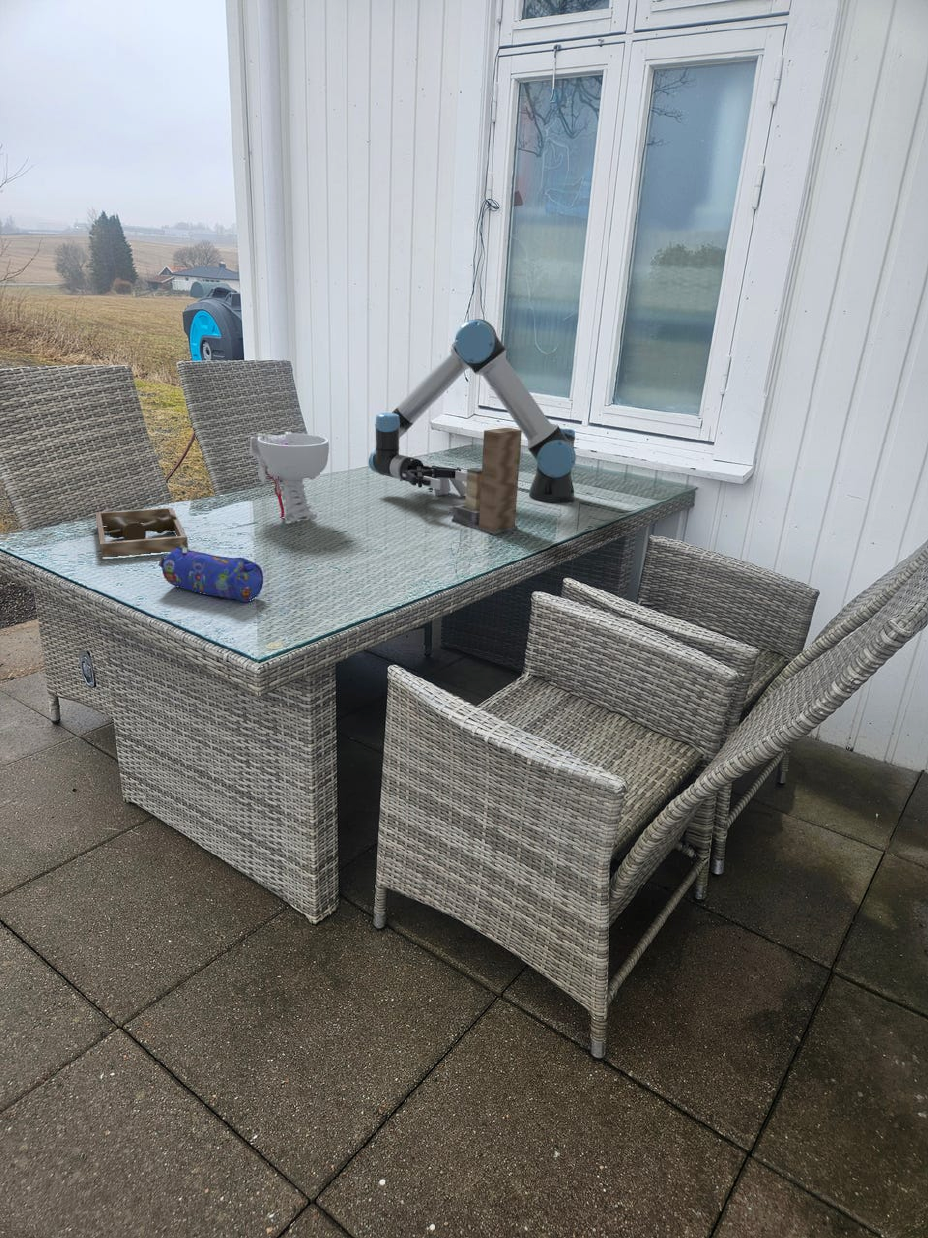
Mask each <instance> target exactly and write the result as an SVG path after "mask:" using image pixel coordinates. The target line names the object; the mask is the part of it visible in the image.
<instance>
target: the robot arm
mask: <svg viewBox="0 0 928 1238" xmlns="http://www.w3.org/2000/svg"><path fill="white" fill-rule="evenodd" d="M506 355H507V349H506V348H505V346H504V344H503V343H502V342H501V341H500V339H499V337H498V336H497V332H496V329H495V328H494V326H493V325H492V324H491V323H490V322H489V321H487V320H485V319H479V318H478V319H477V318H476V319H470V320H467V321H466V322H464V323H462V325H461V326H460V327H459V328H458V330H457V332H456V334H455V338H454V342H452V344H451V345H450V351H449V352H448V353H447V354H446V355H445V356H444V357H443V358H442V359H441V361H439V362H438V364H437V365H435V367H434V368H433V369H431V371H430V372H429V373H428V374H427V375H426V376H425V377H424V378H423V379H422V380H421V381H420V383H418V385H416V387H414V389H413V390H412V391H411V392H410V393H409V394H408V395H407V396H406V397H405V398H404V400H403V401H401V402H400V403H399V405H398V406H397V407H395V409H394V410H393V411H392V412H379V413H377V414H376V417H375V425H374V426H375V450H373V451H372V452H371V453H370V454H369V455H370V456H369V457H368V466H369V468H370V470H371V471H372V472H374V473H377V474H379V475H381V476H386V477H390V478H394V479H399V481H400V482H403V481H405V482H408V483H409V484H410V485H411V486H414V487H415V486H417V488H423V486H425V487H428V488H432V489H434V488H435V489H438V490H439V489H440V482H441V480H439V479H436V478H437V477H440V478H455V480H459V481H462V482H463V483H466V482H467V472H464V471H462V469H461V468H459V467H446V466H438V465H437V466H436V465H434V464H433V465H432V466H429V465H424V463H423V461H421V460H420V459H418V458H414V457H411V456H408V455H402V454H400V439H401V437H402V436H403V435H405V434H406V433H407V431H408V430H409V429H410V428H411V427H412V426H413V425H414V424H415V423H416V422H417V421H418V419H420V418H421V417H422V416H423V415H424V413H426V411H428V410H429V408H430V407H431V406H432V405H433V404H434V403H435V402H436V401H437V400H439V398H440V397H441V396H442V395H443V394H444V393H445V392H446V391H447V390H448V389H449V388H450V387H451V386H452V385H453V384H454V383H455V382H456V381H457V380H458V379H459V378H460V377H461V375H463V374H464V373H465V371H466V370H468V369H470V370H472V372H473V373H474V374H475V375H477V376H482V377H483V378H484V380H485V382H486V383H487V384H488V385H489V387H490V388H491V390H492V392H493V393H494V394H495V395H496V397H497V399H498V400H499V401H500V403H501V404H502V406H503V407H504V409H505V410H506V411H507V413H508V414H509V416H510V417H511V419H512V420H513V421H514V423H515V424H516V425H517V427H518V428H519V430H522V434H523V435H524V437H525V438H526V439H527V445H526V448H527V450H528V451H529V452H530V454H531V455H532V456H533V459H534V460H535V461H536V470H535V475H534V478H533V480H532V482H531V485H530V488H529V492H528V494H529V496H528V497H529V498H531V499H533V500H535V501H540V502H545V503H568V502H569V503H570V502H571V501H574V499H575V487H574V485H573V480H572V469H573V468H574V465H575V464H576V459H577V454H576V451H575V441H576V431H575V430H574V429H571V428H560V426H559V425H558V424H554V423H552V422H550V421H549V419H548V417H547V416H546V415H545V413H544V411H543V410H542V409H541V407H540V406H539V404H538V403H537V401H536V399H534V396H532V395H531V393H530V392H529V390H528V388H527V387H526V385H525V384H524V383H523V381H522V380H521V378H520V377H519V375H518V374H517V373H516V371H515V370H514V368H513V367H512V365H511V363H509V361H508V360H507V358H506ZM432 474H434V476H432Z"/></svg>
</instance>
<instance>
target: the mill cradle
mask: <svg viewBox="0 0 928 1238" xmlns="http://www.w3.org/2000/svg"><path fill="white" fill-rule="evenodd" d="M94 513H95V518H96V519H95V520H96V524H97V525H96V526H97V533H98V538H99V540H98V541H99V545H100V546H99V547H100V552H102V553H101V557H118V556H129V555H141V554H151V553H161V552H172V551H173V550H174V549H177V547H180V546H181V545H183V546H185V548H187V549H188V550H189V544H188V543H189V542H188V536H187V535H186V532H185V530H184V528H183V526H182V524H181V522H180V520H179V518H178V516H177V513H176V512H175V510H174V508H173V507H172V506H171V507H159V508H156V507H155V508H145V509H144V508H143V509H129V510H127V509H126V510H115V511H113V510H112V511H100V512H98V511H97V512H94ZM168 514H173V515H175V517H176V518H177V519H176V520H174V529H175V533H176V535H177V537H176V536H168V537H167V536H166V537H155V538H154V537H153V538H145V539H140V540H127V541H124V540H118V541H106V537H105V536H106V535H104V533H105V531H104V528H103V526H107V523H108V521H109V520H110V519H112V518H114V517H121V518H124V519H125V521H126V522H127V524H129V523H132V522H139V523H148V522H150V521H153V519H154V518H155V517H159V518H164V517H166V516H167V515H168ZM175 533H174V534H175Z"/></svg>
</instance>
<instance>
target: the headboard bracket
mask: <svg viewBox="0 0 928 1238" xmlns="http://www.w3.org/2000/svg"><path fill="white" fill-rule="evenodd" d="M522 434H523V433H522V430H520V428H519V429H517V428H512V427H503V428H502V427H501V428H495V429H493V428H492V429H486V430H485V429H484V431H483V442H482V443H483V444H482V462H481V463H482V464H481V469H482V478H481V497H480V510H479V511H473V510H470V509H466V508H465V504H466V503H464V504H459V505H455V506H453V507H452V508H453V509H452V518H451V522H453V523H455V524H459V525H462V526H466V527H469V528H471V529H475V530H477V531H482V532H484V531H485V532H484V533H487V532H488V534H490V533H491V534H490V535H495V536H496V535H499V534H502V532H503V533H507V532H510V531H514V530H517V529H518V525H516V517H517V515H516V514H517V501H518V500H517V499H518V487H519V476H520V474H519V473H520V462H521V461H520V460H521V447H522V436H523V435H522ZM498 533H499V534H498Z"/></svg>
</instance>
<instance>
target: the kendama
mask: <svg viewBox="0 0 928 1238" xmlns="http://www.w3.org/2000/svg"><path fill="white" fill-rule="evenodd" d="M177 518H178V517H177ZM177 518H176V517H175V515H173V514H168V515H167V516H166V517H164V518H159V517H155V518H154V519H153V521H150V522H148V523H145V524H141V523H139V522H132V523H129V524H127V522H126V521H125V519H124V518H121V517H114V518H112V519H110V520H109V521H108V523H107V528H106V532H105V531H104V535H105V536H109V537H110V538H112V539H120V538H119V537H121V538H123V541H127V540H140V539H146V537H147V532H154V533H155V532H156V533H158V534H163V533H164V532H170V531H175V529H174V520H176V519H177Z"/></svg>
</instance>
